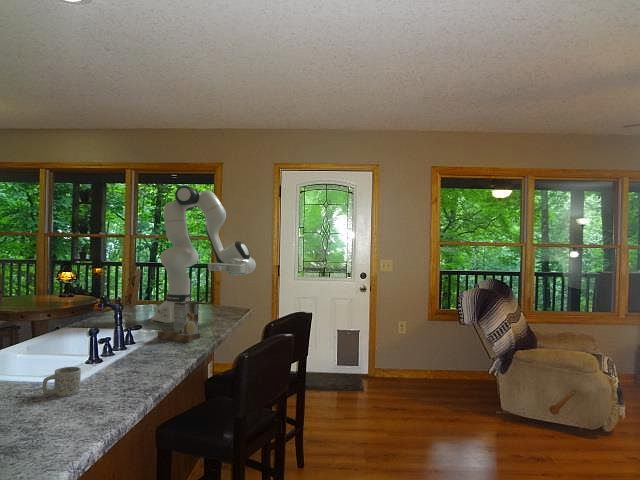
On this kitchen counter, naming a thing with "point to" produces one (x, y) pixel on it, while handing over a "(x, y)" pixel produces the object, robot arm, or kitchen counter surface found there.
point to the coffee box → (186, 317)
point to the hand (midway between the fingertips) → (217, 268)
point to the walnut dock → (177, 336)
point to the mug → (64, 382)
